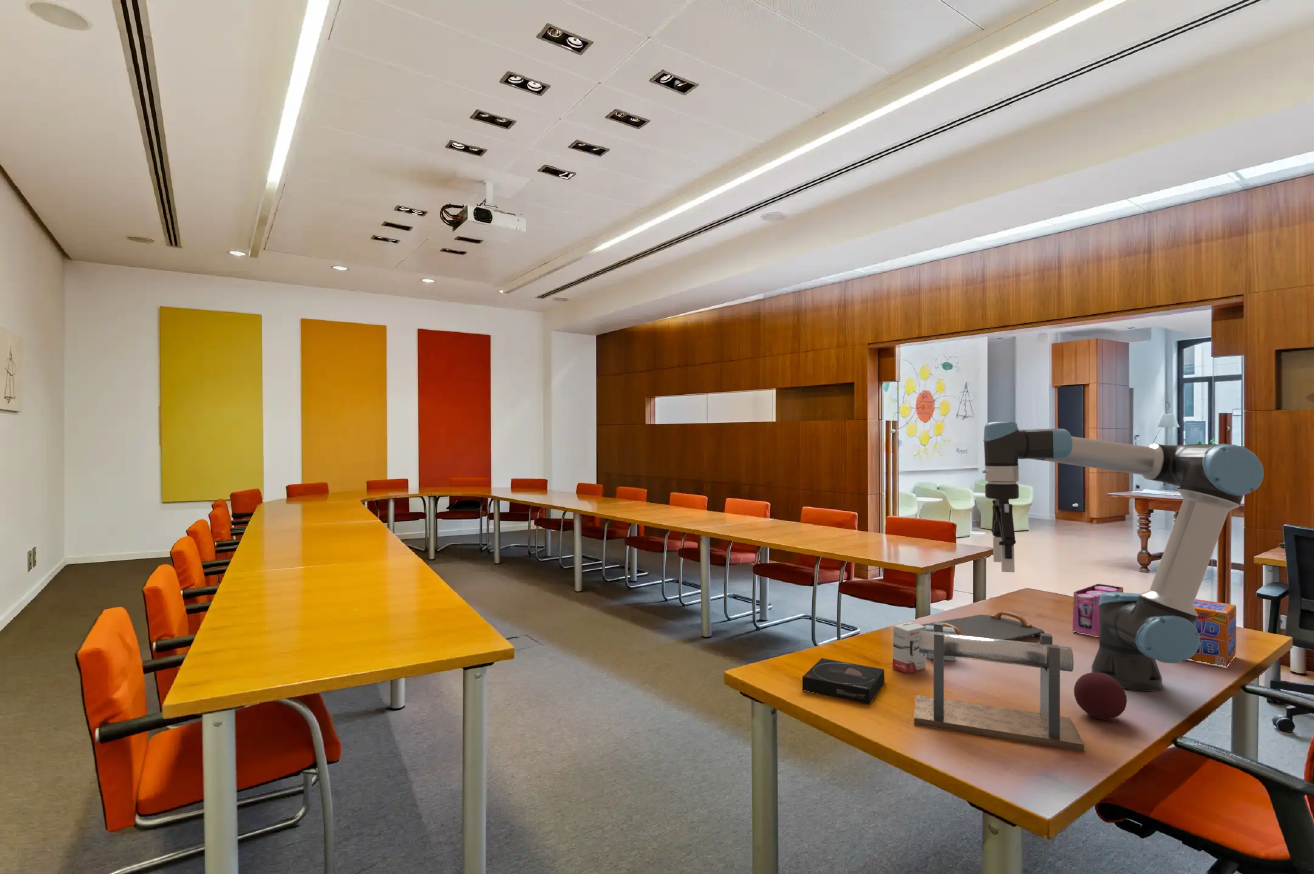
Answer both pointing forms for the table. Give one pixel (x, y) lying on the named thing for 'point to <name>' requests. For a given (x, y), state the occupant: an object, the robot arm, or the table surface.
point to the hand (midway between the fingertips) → (1003, 566)
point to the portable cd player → (844, 680)
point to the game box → (1215, 632)
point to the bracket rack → (998, 720)
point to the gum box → (1089, 608)
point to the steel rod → (995, 650)
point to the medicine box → (945, 630)
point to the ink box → (907, 647)
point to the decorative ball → (1100, 695)
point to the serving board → (992, 626)
